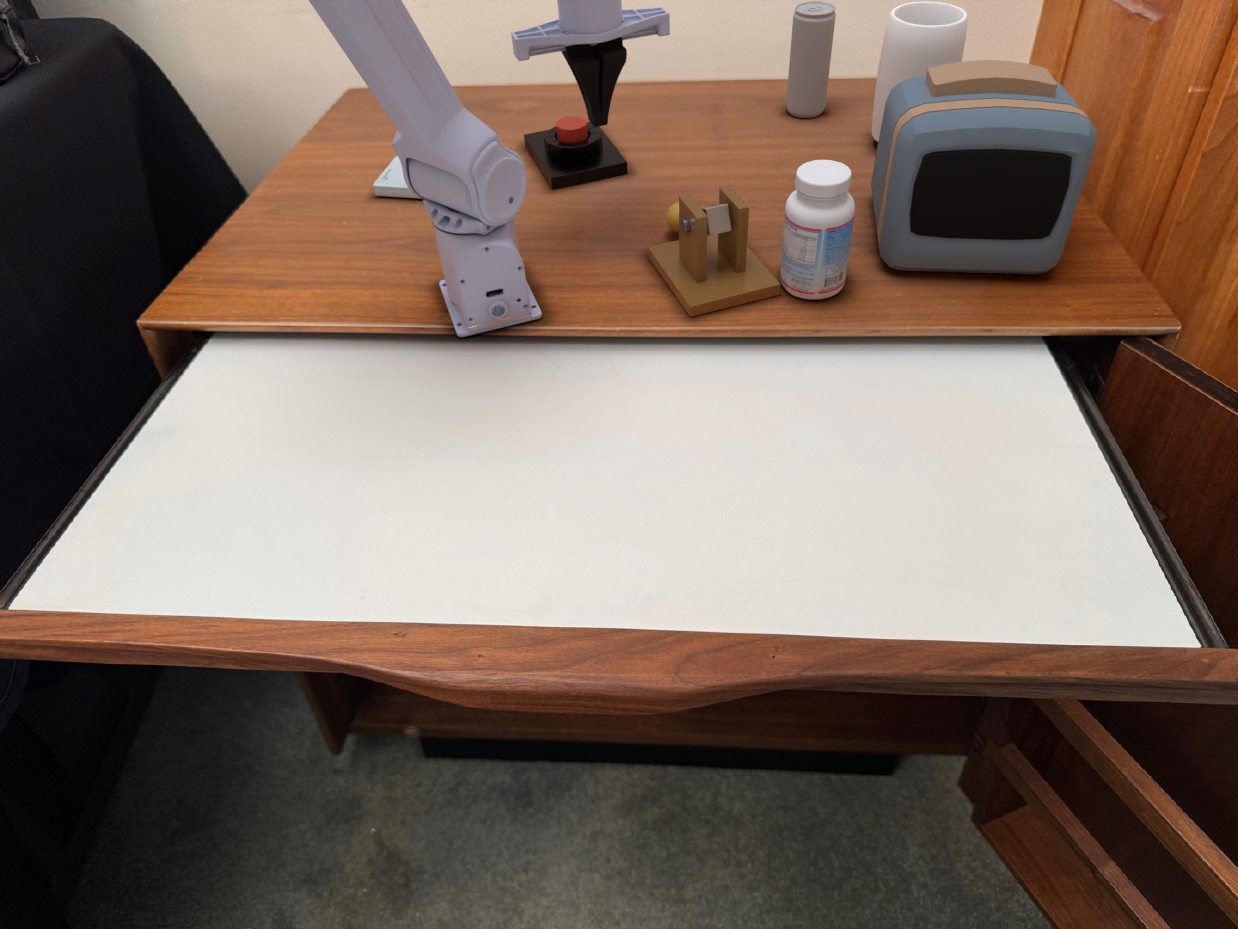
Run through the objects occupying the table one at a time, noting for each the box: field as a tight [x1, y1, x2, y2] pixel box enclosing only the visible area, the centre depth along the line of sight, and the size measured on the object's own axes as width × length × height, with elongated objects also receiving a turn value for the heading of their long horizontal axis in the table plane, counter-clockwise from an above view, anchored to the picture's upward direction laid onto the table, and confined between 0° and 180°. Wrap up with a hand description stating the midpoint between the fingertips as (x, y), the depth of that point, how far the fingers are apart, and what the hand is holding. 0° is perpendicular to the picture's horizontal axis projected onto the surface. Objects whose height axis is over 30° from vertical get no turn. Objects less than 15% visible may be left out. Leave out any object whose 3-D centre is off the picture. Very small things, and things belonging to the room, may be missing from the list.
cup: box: [870, 0, 969, 143], centre depth 97 cm, size 8×8×14 cm
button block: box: [523, 121, 629, 190], centre depth 102 cm, size 12×9×3 cm
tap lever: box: [665, 201, 732, 236], centre depth 85 cm, size 12×3×3 cm, turn 19°
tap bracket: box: [647, 185, 782, 318], centre depth 82 cm, size 11×9×8 cm
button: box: [555, 115, 588, 143], centre depth 101 cm, size 4×4×2 cm
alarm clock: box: [870, 59, 1097, 275], centre depth 82 cm, size 16×16×16 cm
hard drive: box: [372, 155, 420, 199], centre depth 101 cm, size 2×8×12 cm
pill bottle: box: [779, 159, 856, 300], centre depth 79 cm, size 6×6×11 cm
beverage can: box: [785, 0, 836, 119], centre depth 105 cm, size 5×5×12 cm
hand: (597, 122), depth 86 cm, fingers closed
